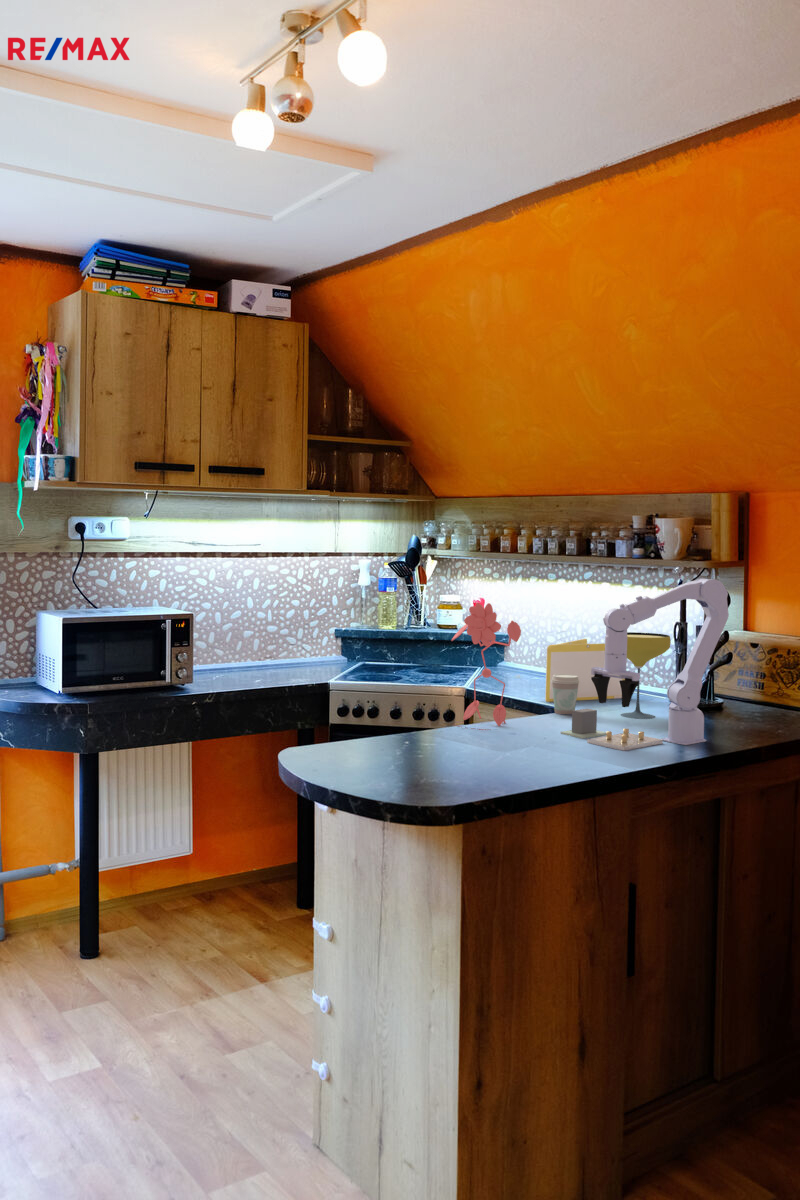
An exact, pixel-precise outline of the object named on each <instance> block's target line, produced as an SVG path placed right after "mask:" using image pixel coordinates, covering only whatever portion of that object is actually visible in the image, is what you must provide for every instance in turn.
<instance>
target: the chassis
mask: <svg viewBox="0 0 800 1200" xmlns="http://www.w3.org/2000/svg"><path fill="white" fill-rule="evenodd" d="M629 730H630V728H623V730H622V731H623V732H622V733H615V734H613V733H612V732H613V731H609V730H608V731H605V732H606V735H603V736H597V737H590V738H586V740H587V741H586V743H587V744H592V745H597V746H600V747H604V748H610V749H615V750H617V751H618V750H619V751H623V752H624V751H629V750H635V749H641V748H646V747H650V746H657V745H662V744H664V741H663V740H661V739H662V738H661V739H660V738H654V737H650V736H647V735H646V736H645V732H644V731H638V734H635V733H629V732H630V731H629Z"/></svg>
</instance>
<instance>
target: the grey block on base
mask: <svg viewBox="0 0 800 1200" xmlns="http://www.w3.org/2000/svg"><path fill="white" fill-rule="evenodd" d="M597 716H598V710H596V709H591V708H582V709H575V710H572V715H571V730H564V731H560V734H561V735H566V736H569V735H570V737H573V736H574V738H578V739H582V740H583V739H591V738H597V737H603V736H606V732H607V731H601V730H597V726H598V725H597V724H598V723H597V721H598V720H597V719H598V717H597Z"/></svg>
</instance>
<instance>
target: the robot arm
mask: <svg viewBox="0 0 800 1200" xmlns="http://www.w3.org/2000/svg"><path fill="white" fill-rule="evenodd" d="M725 587H726V586H725V585H724V584H723V582H722V581H720V580H718V579H715V578H714V579H713V578H712V579H711V578H705V577H704V578H703V577H700V578H697V579H695V580H691V581H688V582H685V583H682V584H680V585H678V586H676V587H673V588H671V589H670V590H667V591H665V592H663V593H660V594H658V595H657V596H654V597H652V598H651V597H649V596H642V595H638V596H636V597H635V600H634V601H629V602H628V603H621V604H619V608H617V607H615V608H611V609H609V610H607V611H606V613H605V615H604V617H603V618H602V621H603V624H604V626H605V636H604V637H605V638H604V639H605V640H604V643H605V663H604V668H598V667H593V668H591V675H595V676H594V677H591V680H592V681H593V683H594V685H595V688H596V691H597V694H598V699H597V700H598V702H599V703H598V704H606V703H607V700H608V699H607V688H608V684H609V680H610V677H614V678H621V679H625V680H620V681H619V682H620V686H621V691H622V698H621V707H623V708H629V707H630V705H631V700H632V697H633V695H634V692H635V690H637V685H638V684H639V685H640V683H639V680H640V679H641V678H640V675H641V672H640V673H638V672H635V671H629V670H627V664H626V663H627V661H628V659H627V632H628V630H629V628H630V627H631V626H633V625H635V624H638V623H641V622H643V621H645V620H647V619H650V618H652V617H654V616H655V614H656V612H657V610H659V609H661V608H665V607H667V606H670V605H673V604H675V603H677V602H680V601H683V600H695V601H696V602H697V603H698V604H699V605H700V606H701V608H702V610H703V612H704V614H705V620H704V621H703V624H702V627H701V629H700V630H699V633H698V636H697V637H696V640H695V642H694V644H693V647H692V649H691V651H690V654H689V656H688V659H687V660H686V663H685V665H684V667H683V670H682V671H680V672H679V673H678V675H676V679H675V680H674V681H673V682H672V683H671V684H669V686H668V688H667V691H666V696H667V698H668V700H669V701H670V704H669V705H668V727H667V728H668V730H667V734H668V735H667V737H664V738H661V740H663V742H667V743H672V744H678V745H682V746H688V745H695V744H701V743H705V742H707V739H705V738H704V735H705V732H704V731H705V715H704V713H703V711H702V710H700V709H699V708H698V705H699V704H700V701H701V692H702V691H701V690H702V687H703V680H702V679H703V676H704V674H705V672H706V671H707V667H708V664H709V662H710V661H711V659H712V655H713V653H714V651H715V648H716V647H717V644H718V642H719V640H720V637H721V635H722V632H723V631H724V628H725V626H726V624H727V621H728V620H729V617H730V616H729V605H728V596H729V593H728V591H727V589H726V588H725ZM608 674H611V675H608ZM615 675H619V676H615ZM622 676H623V677H622Z"/></svg>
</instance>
